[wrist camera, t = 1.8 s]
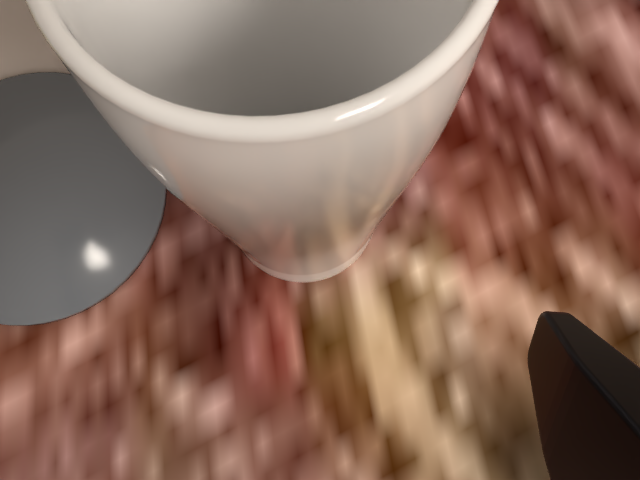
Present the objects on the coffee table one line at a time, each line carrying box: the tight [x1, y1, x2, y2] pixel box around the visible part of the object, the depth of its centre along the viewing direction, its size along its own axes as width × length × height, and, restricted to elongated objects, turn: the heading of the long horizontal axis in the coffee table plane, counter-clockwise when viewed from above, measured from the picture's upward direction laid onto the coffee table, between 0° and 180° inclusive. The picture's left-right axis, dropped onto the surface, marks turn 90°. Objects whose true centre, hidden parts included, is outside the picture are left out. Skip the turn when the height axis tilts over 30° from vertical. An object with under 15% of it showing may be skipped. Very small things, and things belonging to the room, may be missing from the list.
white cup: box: [25, 0, 499, 283], centre depth 15 cm, size 7×7×15 cm
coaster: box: [0, 72, 167, 326], centre depth 22 cm, size 10×10×1 cm
